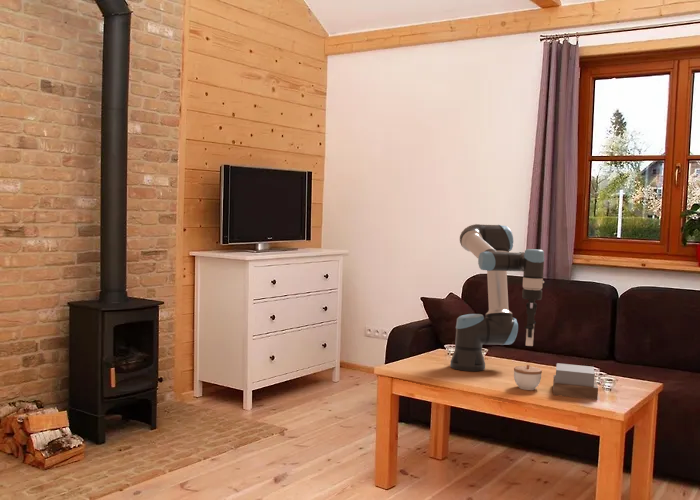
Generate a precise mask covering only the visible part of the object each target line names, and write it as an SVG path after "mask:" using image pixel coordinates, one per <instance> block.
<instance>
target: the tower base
mask: <svg viewBox="0 0 700 500" xmlns="http://www.w3.org/2000/svg"><path fill="white" fill-rule="evenodd" d="M552 380H553V381H552V394H553V396H558V395H562V396H561V397H567V396H569V398H579V399H589V400H598V398H599V397H598V395H599V385H598V382H597V380H596V378H594V387H589V386H579V385H570V384H560V383H555V380H556V374H553V379H552Z"/></svg>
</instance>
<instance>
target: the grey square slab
mask: <svg viewBox="0 0 700 500" xmlns="http://www.w3.org/2000/svg"><path fill="white" fill-rule="evenodd" d="M555 366H556V368H555V375H556V380H555V383H560V384H570V385H579V386H589V387H594V379H595V367H594V366H589V365H578V364H569V363H558V362H557V363H556V365H555Z"/></svg>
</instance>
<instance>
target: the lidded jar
mask: <svg viewBox="0 0 700 500" xmlns="http://www.w3.org/2000/svg"><path fill="white" fill-rule="evenodd" d="M542 373H543V370H542V369H541V368H539V367H535V366H530V364H527V363H526V365H518V366H516V365H515V366H514V367H513V378H514V379H513V380H514V382H515V384H516V386H517V387H518V389H521V390H525V391H533V390H535V389H536V388H538V387H539V385H540V384H541V379H542Z"/></svg>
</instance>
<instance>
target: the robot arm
mask: <svg viewBox="0 0 700 500" xmlns="http://www.w3.org/2000/svg"><path fill="white" fill-rule="evenodd" d="M459 243H460V246H461V247H462V249H464V250H465V251H467V252H470V253H472V255H474V257H475V258H476V259H477V260H478V261H477V264H478V268H479V269H480V270H482V271H486V274H487V294H488V295H487V297H488V299H487V300H488V310H487V312H486V313H485V316H484V315H483V314H481V313H468V314H463V315H459V316H458V317H457V318H456V324H455V341H454V342H455V346H454V347H455V348H454V351H453V353H452V357H451V359H450V362H449V365H450V368H452V369H454V370H458V371H463V372H465V371H466V372H482V371H484V370H485V369H486V361H485V359H484V355H483V354H484V353H483V345H500V346H504V345H513V344H514V342H515V341H516V338H517V336H518V332H519V323H518V320H517V318H515V317H513V312H512V311H510V309H509V294H508V293H509V292H508V273H507V272H521V273H523V276H522V288H523V289H522V295H521V297H522V299H524V300H527V301H528V302H526V305H525V309H526V314H527V319H526V326H524V329H525V330H526V332H525V346H527V347H533V346H534V339H535V338H534V336H535V335H534V333H535V325H536V324H537V321H536V320H535V316H536V312H537V308H538V307H537V306H538V304H537V303H536V301H541V300H543V299H542V298H543V290H542V289H543V284H545V281H544V266H545V251H544V250H543V249H536V248H533V249H532V248H527V249H526V248H525V250H524V252H523V251H522V252H520V251H519V252H510V251H512V250H513V247H514V235H513V232H512V230H511V228H510V227H509V226H507V225H501V224H477V223H475V224H470V225H469V226H467V227H465V228H464V229H463V230H462V231H461V232H460V234H459Z"/></svg>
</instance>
